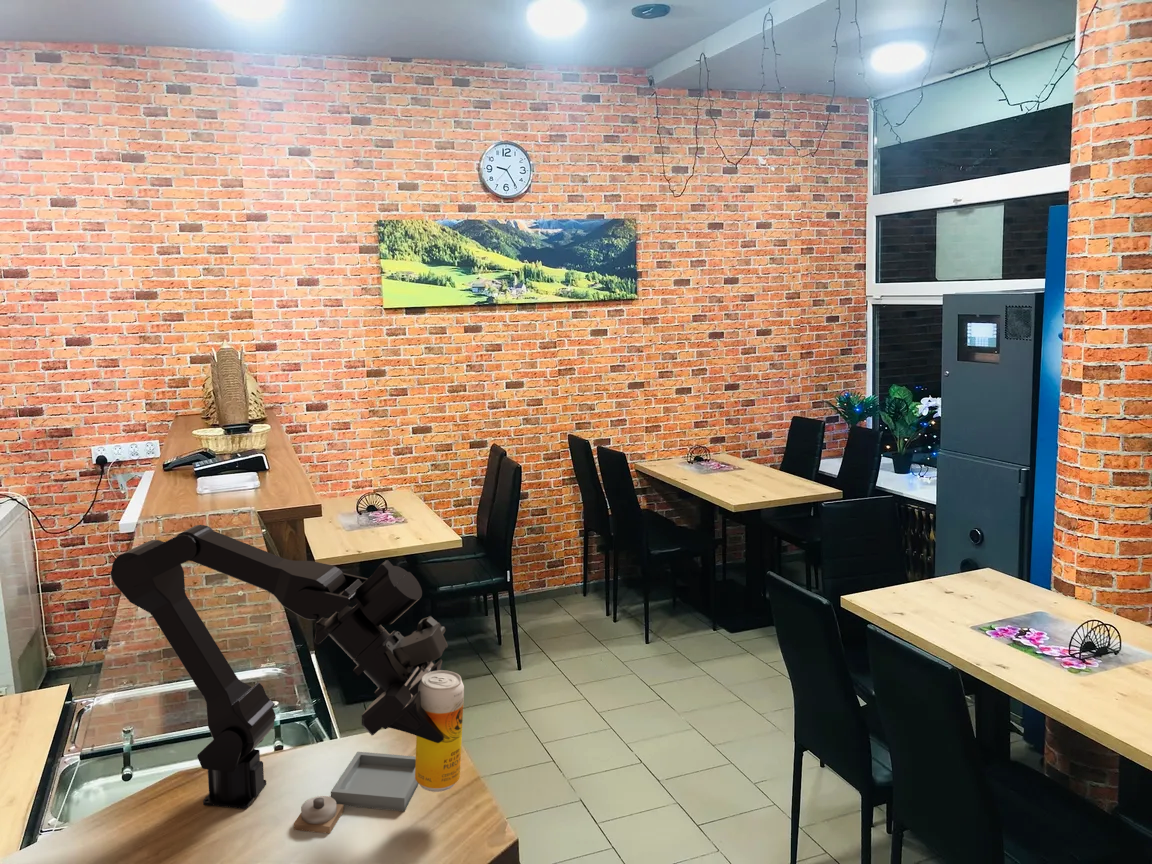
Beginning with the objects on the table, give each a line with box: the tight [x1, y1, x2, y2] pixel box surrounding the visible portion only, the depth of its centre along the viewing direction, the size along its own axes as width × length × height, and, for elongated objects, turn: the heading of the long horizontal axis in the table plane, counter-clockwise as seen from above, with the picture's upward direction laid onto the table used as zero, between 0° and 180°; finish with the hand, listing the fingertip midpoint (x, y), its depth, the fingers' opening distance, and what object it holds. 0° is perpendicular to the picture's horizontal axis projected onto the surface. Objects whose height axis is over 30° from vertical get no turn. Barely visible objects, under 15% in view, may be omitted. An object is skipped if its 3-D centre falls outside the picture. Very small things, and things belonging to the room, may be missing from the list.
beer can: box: [415, 669, 465, 793], centre depth 119 cm, size 6×6×15 cm
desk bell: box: [293, 795, 345, 834], centre depth 120 cm, size 5×5×3 cm
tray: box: [330, 751, 419, 812], centre depth 128 cm, size 11×11×2 cm
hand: (448, 728), depth 119 cm, fingers closed on beer can, 6 cm apart
